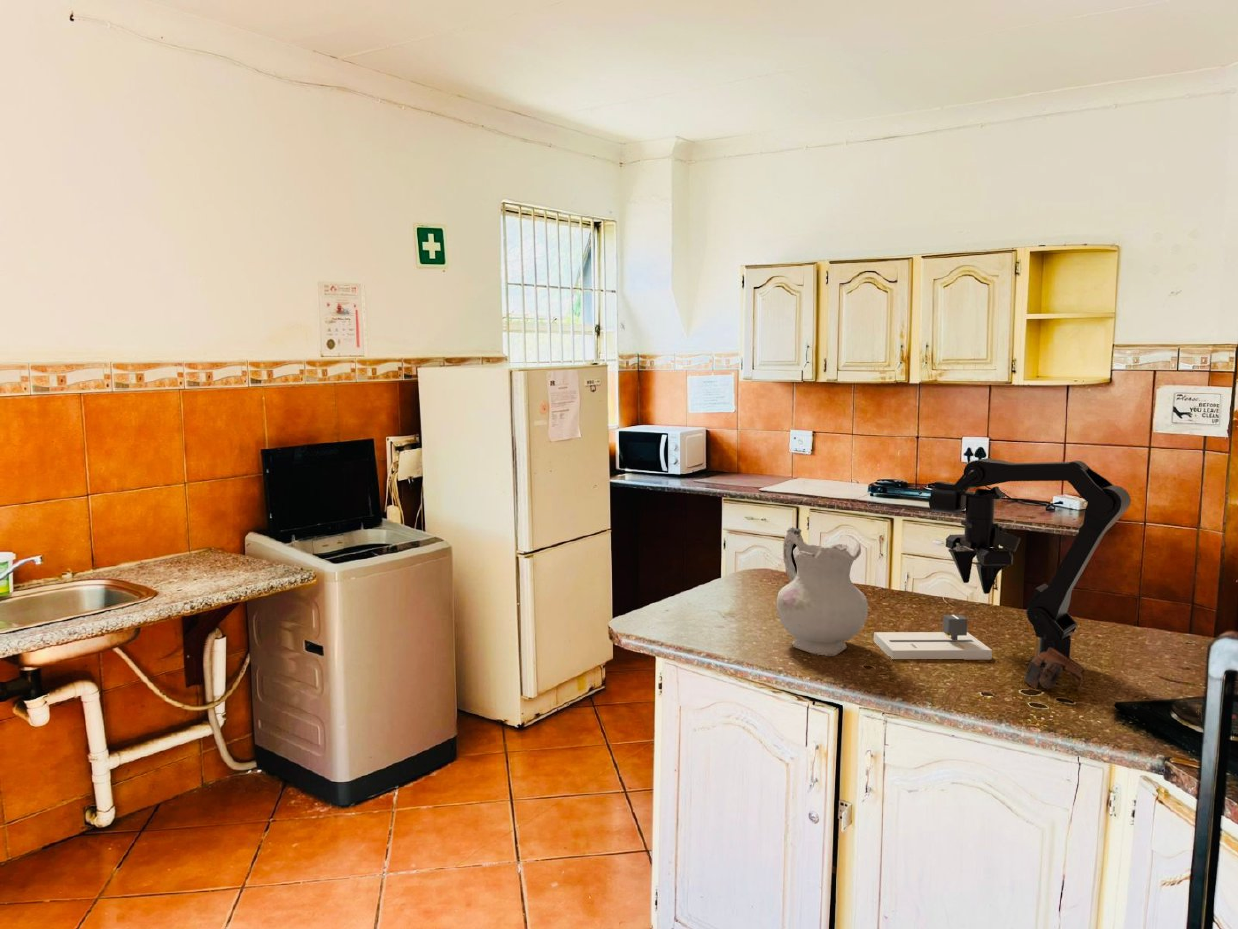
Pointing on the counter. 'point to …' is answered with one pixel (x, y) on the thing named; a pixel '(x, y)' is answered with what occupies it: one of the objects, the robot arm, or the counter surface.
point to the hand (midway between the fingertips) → (975, 588)
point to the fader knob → (954, 625)
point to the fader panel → (931, 646)
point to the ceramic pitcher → (820, 596)
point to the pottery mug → (1051, 669)
